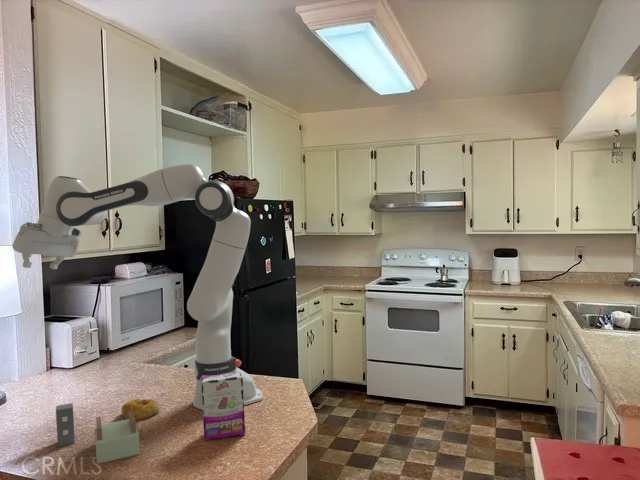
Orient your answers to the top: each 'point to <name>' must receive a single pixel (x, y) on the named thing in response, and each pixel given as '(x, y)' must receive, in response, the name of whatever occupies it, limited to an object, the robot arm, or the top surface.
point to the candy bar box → (223, 406)
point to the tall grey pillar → (65, 424)
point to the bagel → (140, 408)
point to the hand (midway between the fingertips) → (40, 268)
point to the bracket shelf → (116, 439)
